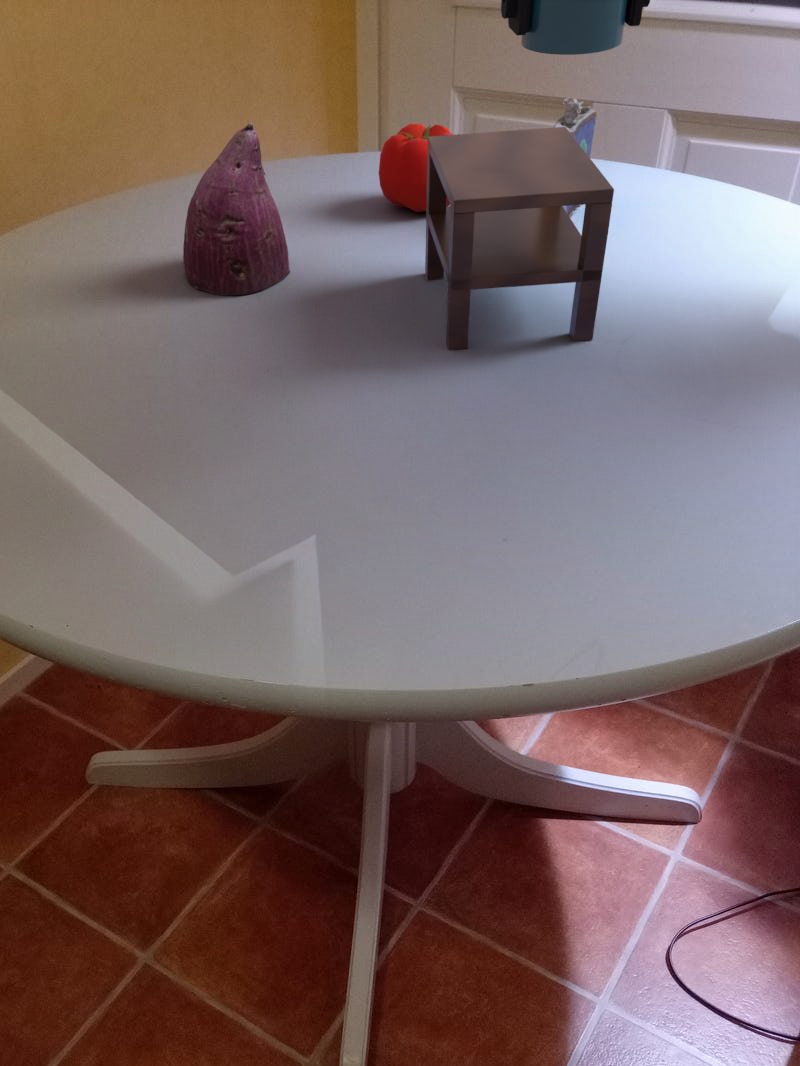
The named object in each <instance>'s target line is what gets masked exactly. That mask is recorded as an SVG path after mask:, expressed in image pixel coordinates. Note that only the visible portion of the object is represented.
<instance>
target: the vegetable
mask: <svg viewBox="0 0 800 1066" xmlns="http://www.w3.org/2000/svg"><path fill="white" fill-rule="evenodd" d="M261 152H262V151H261V143H260V139H259V136H258V133H257V131H256V129H255V128H254V125H253V123H252V122H251V121H249V122H248V123H247V125H246V126H244V127H243V128H241V129H239V130H238V131H236V132H235V133H234V134H233V136H232V137H231V138H230V140H229V141H228V142H227V143H226V145H225V147H224V148H223V149H222V150H221V152H220V153H219V155H218V156H217V158H215V160H214V161H213V163H212V164H211V165H210V166H209V167H208V168H207V169H206V171H205V172H204V173H203V175H202V176H201V178H200V179H199V181H198V183H197V186H196V188H195V189H194V192H193V195H192V197H191V198H190V201H189V204H188V207H187V213H186V219H185V224H184V233H183V234H184V236H183V245H182V247H183V249H182V255H183V256H182V257H183V267H184V273H185V277H186V280H187V283H189V284H190V285H191V286H193V287H194V288H195V289H196V290H197V291H198V290H201V291H204V292H206V293H207V292H208V293H211V294H215V295H219V296H243V295H244V296H245V295H250V294H254V293H257V292H261V291H263V290H266V289H268V288H270V287H271V286H273V285H276V284H277V283H279V282H282V281H283V280H284V279H285V278H287V276H288V275H290V273H291V270H290V262H289V250H288V249H289V248H288V244H287V240H286V236H285V231H284V225H283V223H282V218H281V215H280V211H279V208H278V207H277V204H276V202H275V199H274V197H273V195H272V193H271V190H270V188H269V184H268V183H267V181H266V173H265V169H264V167H263V164H262V153H261Z"/></svg>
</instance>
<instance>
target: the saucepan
mask: <svg viewBox="0 0 800 1066" xmlns="http://www.w3.org/2000/svg"><path fill="white" fill-rule="evenodd" d="M627 1H628V0H531V13H530V26H529V32H526V34H525V35H521V41H520V42H521V46H522V47H523V48H524V49H525V50H528V51H530V52H535V53H540V54H545V55H546V54H548V55H560V56H562V55H563V56H569V55H570V56H571V55H573V56H575V55H588V54H596V53H601V52H605V51H610V50H612V49H615V48H617V47H619V46H620V45H621V44H622V43H623V37H624V30H625V24H626V23H625V16H626V8H627Z"/></svg>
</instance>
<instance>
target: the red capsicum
mask: <svg viewBox="0 0 800 1066" xmlns="http://www.w3.org/2000/svg"><path fill="white" fill-rule="evenodd" d="M444 135H454V133H451V131H450V130H449V128H448V127H446V126H443V125H440V124H434V125H431V124H429V126H427V127H425V125H423V124H422V123H409V124H407V125H405V126H403V127H402V128H401V129H400V130H399V131H397V133H396V134H393V135H391V136H390V137H389V138H388V139H386V140H385V142H384V143H383V146H382V149H381V152H380V155H379V166H378V179H379V187H380V190H381V193H382V195H383V196H384V198H385V199H386V200H388V202H390V203H391V204H393V205H395V206H397V207H400V208H408V209H410V210H412V211H414V212H415V213H422V212H426V205H427V153H428V137H430V136H444ZM449 206H451V205H450V202H449V200H448V198H447V204H446V207H449Z"/></svg>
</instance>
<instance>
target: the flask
mask: <svg viewBox="0 0 800 1066" xmlns="http://www.w3.org/2000/svg"><path fill="white" fill-rule="evenodd" d="M565 103H566V107H567V108H565V111H564V112H563V116H561V117H560V118H559V119H558V120H557V121H556V122H555V123H554V125H553V126H552V128H555V127H566V128H567V129H568V131H569V132H570V133H571V135H572V136H573V137H574V138H575V140H576V141H577V142H578V143H579V145H580V146H581V147H582V149H583V150H584V151H585V152H586V154H587V155H588V156H589V158H590V159H591V152H592V146H593V140H594V134H595V133H594V132H595V126H596V120H597V110H596V109H595V108H593V107H591V106H590V105H587V106H583V104H584V101H582V100H581V101H578V99H577V98H576V97H574V98H572V97H570V96H567V97H565V98H564V99H563V100H562V106H565ZM581 206H582V205H569V206H563V208H564V209H565V211H566V212H567V214H568V215H569V217H570V218H572V216H574V213H575V210H576V211H578V207H581Z"/></svg>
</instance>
